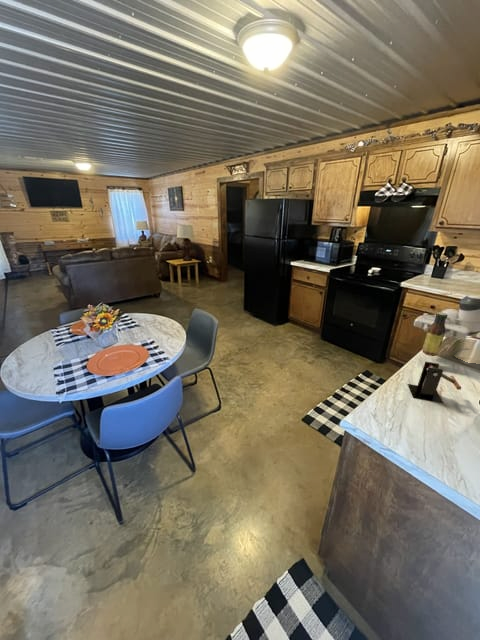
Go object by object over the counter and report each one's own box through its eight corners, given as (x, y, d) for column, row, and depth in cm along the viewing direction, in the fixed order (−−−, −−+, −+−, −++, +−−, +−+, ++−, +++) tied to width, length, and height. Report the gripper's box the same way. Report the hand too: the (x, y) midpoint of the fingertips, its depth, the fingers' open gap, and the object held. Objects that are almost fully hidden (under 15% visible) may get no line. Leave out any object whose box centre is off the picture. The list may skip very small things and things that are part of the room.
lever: (450, 380, 101) (455, 376, 100) (458, 391, 95) (463, 387, 94) (424, 365, 102) (428, 361, 101) (429, 375, 96) (434, 371, 95)
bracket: (434, 391, 106) (445, 362, 100) (442, 406, 98) (454, 375, 92) (406, 386, 109) (415, 357, 103) (412, 400, 101) (422, 370, 95)
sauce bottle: (439, 358, 118) (454, 317, 110) (423, 355, 120) (436, 315, 112) (434, 351, 124) (448, 312, 116) (419, 348, 126) (432, 310, 118)
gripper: (468, 337, 120) (462, 347, 111) (417, 323, 133) (408, 331, 125) (473, 324, 117) (467, 333, 109) (421, 312, 131) (412, 319, 122)
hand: (435, 332), depth 117 cm, fingers closed on sauce bottle, 6 cm apart
